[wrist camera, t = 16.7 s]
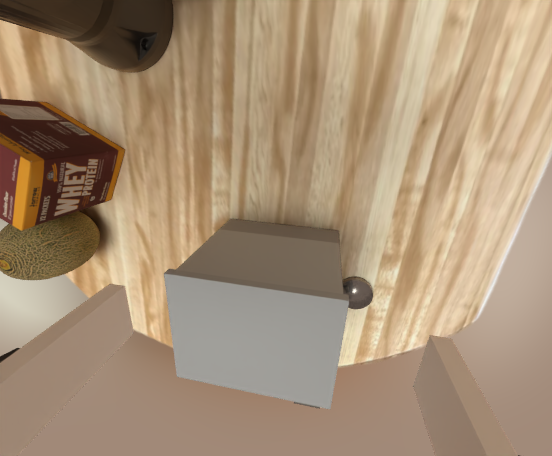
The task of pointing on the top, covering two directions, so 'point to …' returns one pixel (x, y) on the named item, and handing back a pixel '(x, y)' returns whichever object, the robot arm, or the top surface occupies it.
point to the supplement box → (51, 164)
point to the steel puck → (357, 292)
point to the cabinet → (261, 311)
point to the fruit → (48, 247)
